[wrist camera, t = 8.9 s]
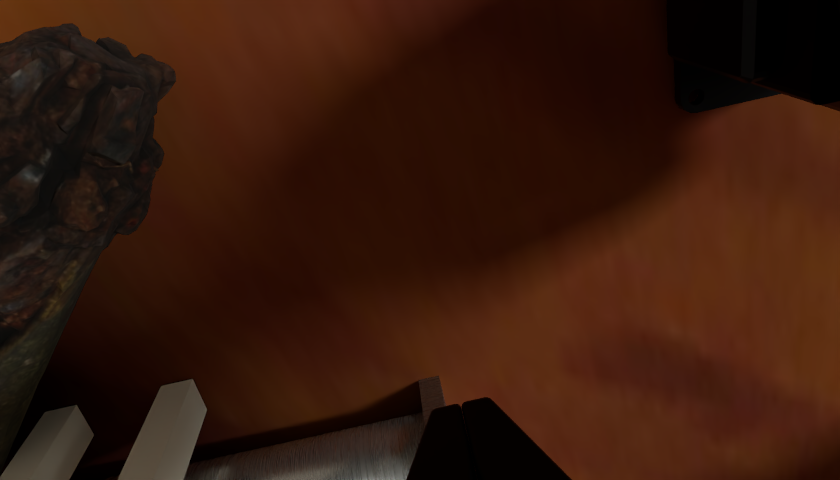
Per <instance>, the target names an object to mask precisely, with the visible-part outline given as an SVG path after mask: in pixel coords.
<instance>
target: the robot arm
mask: <svg viewBox="0 0 840 480" xmlns="http://www.w3.org/2000/svg"><path fill="white" fill-rule="evenodd" d="M667 42H668V54H669V55H670V56H671V57H673V58H674V83H675V101H676V104H677V105H678V107H679V108H681V109H683V110H685V111H687V112H690V113H698V112H702V111H706V110H711V109H715V108H720V107H724V106H729V105H733V104H738V103H742V102H746V101H751V100H755V99H760V98H764V97H769V96H773V95H777V94H785V95H788V96H791V97H794V98H797V99H800V100H804V101H807V102H810V103H813V104H816V105H822V106H825V107H828V108H831V109H834V110H837V111H840V0H667ZM695 89H697V90H698V96H697V98H696V99H695V100H694V101H692V102H689V99H688V98H689V95H690V93H691V92H692V91H693V90H695ZM462 412H463V414H462ZM463 417H464V418H463ZM464 421H465V422H464ZM465 426H466V427H465ZM466 430H467V431H466ZM467 435H468V436H467ZM468 439H469V440H468ZM469 444H470V445H469ZM470 448H471V449H470ZM471 453H472V454H471ZM472 457H473V458H472ZM474 466H475V467H474ZM476 475H477V476H476ZM406 480H571V479H570V478H569V477H568V476H567V475H566V474H565V473H564V471H563V470H562V469H561V468H560V467H559V466H558V465H557V464H556V463H555V462H554V461H553V460H552V459H551V458H550V457H549V456H548V455H547V454H546V453H545V452H544V451H543V450H542V449H541V448H540V447H539V446H538V445H537V444H536V443H535V442H534V441H533V440H532V439H531V438H530V437H529V436H528V435H527V434H526V433H525V432H524V431H523V430H522V429H521V428H520V427H519V426H518V425H517V424H516V423H515V422H514V421H513V420H512V419H511V418H510V417H509V416H508V415H507V414H506V413H505V412H504V411H503V410H502V409H501V408H500V407H499V406H498V405H497V404H496V403H495V402H494V401H493V400H491V399H490V398H488V397H484V398H480V399H475V400H471V401H466V402H464V403H463V404H462V409H461V406H460V405H458V404H453V405H448V406H444V407H439V408H435V409H433V410H432V411H431V413H430V416H429V418H428V421H427V424H426V426H425V429H424V432H423V435H422V437H421V440H420V443H419V446H418V448H417V451H416V454H415V457H414V459H413V462H412V465H411V468H410V470H409V473H408V476H407V479H406Z"/></svg>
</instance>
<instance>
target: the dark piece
mask: <svg viewBox="0 0 840 480" xmlns="http://www.w3.org/2000/svg"><path fill="white" fill-rule="evenodd" d="M175 82H176V76H175V71H174V70H173V69H172V68H171V67H170V66H169V65H167V64H165V63H163V62H159V61H156V60H155V59H154V58H153V57H152V56H148V55H145V54H140V55H139V56H137V57H136V58H134V57H133V56H132V55H131V54H130V52H129V50H128V49H127V47H126V45H124V44H122V43H119V42H117V41H115V40H113V39H111V38H109V37H107V38H102V39H100V38H99V39H98V40H97V42H96V43H95V42H93V41H92V40H89V39H87V38H85V37H82V35H81V33H80V31H79V28H78V27H77V26H75V25H74V24H62V25H61V26H57V27H43V28H39V29H35V30H32V31H28V32H25V33H23V34H22V35H20V36H19V37H17V38H15V39H14V40H12V41H10V42H5V43H1V44H0V474H1V471H2V469H3V467H4V464H5V462H6V459H7V457H8V454H9V452H10V449H11V447H12V444H13V442H14V440H15V438H16V435H17V433H18V431H19V428H20V426H21V423H22V421H23V419H24V416H25V414H26V412H27V409H28V407H29V405H30V402H31V400H32V398H33V395H34V393H35V390H36V388H37V385H38V383H39V381H40V379H41V378H42V376H43V374H44V372H45V370H46V368H47V365H48V363H49V361H50V359H51V356H52V354H53V352H54V350H55V347H56V345H57V343H58V341H59V339H60V336H61V334H62V332H63V330H64V328H65V325H66V323H67V321H68V319H69V317H70V315H71V313H72V311H73V309H74V307H75V304H76V302H77V300H78V298H79V296H80V293H81V291H82V289H83V287H84V285H85V283H86V280H87V278H88V277H89V275H90V273H91V271H92V269H93V267H94V265H95V263H96V261H97V259H98V257H99V255H100V253H101V252H102V250H104V249H105V248H106V247H108V246H109V244H110V242H111V241H112V239H113V237H114V236H115V235H116V234H117V233H119V234H123V235H129V234H131V233H132V232H134V231H136V230H137V229H138V227H139V225H140V224H141V222H142V221H143V219H144V218H145V216H146V215H147V212H148V208H149V204H150V193H151V187H152V180H153V178H154V177H155V172H156V171H158V168H159V167H160V166H161V164H162V160H163V156H164V152H163V150H162V148H161V147H160V145H159V144H158V143H157V142H156V140H155V139H153V131H154V118H153V116H154V115H155V114H156V113H157V102H158V101H160V100H161V99H162V98H163V97H164V96H165V95H166V94H167V93H168V92H169V90H170V89H171V87H172V86H173V84H174V83H175Z"/></svg>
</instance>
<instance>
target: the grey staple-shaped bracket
mask: <svg viewBox="0 0 840 480" xmlns="http://www.w3.org/2000/svg"><path fill="white" fill-rule="evenodd" d="M206 412H207V408H206V406H205V404H204V402H203V400H202V398H201V395H200V393H199V391H198V389H197V387H196V385H195V383H194V380H193V379H190V380H185V381H181V382H176V383H172V384H168V385H163V386H161V387H160V389H159V391H158V394H157V396H156V398H155V400H154V402H153V404H152V407H151V409H150V411H149V413H148V415H147V417H146V419H145V422H144V424H143V426H142V428H141V430H140V432H139V435H138V437H137V439H136V441H135V443H134V445H133V447H132V450H131V452H130V454H129V456H128V458H127V460H126V462H125V465H124V467H123V469H122V471H121V473H120V475H119V478H118V480H184V477H185V474H186V471H187V468H188V465H189V462H190V459H191V456H192V453H193V450H194V447H195V444H196V441H197V438H198V435H199V432H200V429H201V426H202V423H203V421H204V418H205V415H206ZM93 436H94V433H93V432H92V430H91V428H90V427H89V425H88V423H87V422H86V420H85V418H84V416H83V415H82V413H81V411H80V410H79V408H78V406H77V405H74V406H69V407H65V408H60V409H56V410H51V411H47V412H45V413H44V414H43V416H42V417H41V418H40V420H39V421H38V423H37V424H36V426H35V427H34V429H33V430H32V431H31V433H30V434H29V436H28V437H27V439H26V440H25V442H24V443H23V444H22V446H21V447H20V449H19V450H18V452H17V453H16V454H15V456H14V457H13V459H12V460H11V462H10V463H9V465H8V466H7V467H6V469H5V470H4V472H3V473H2V475H1V476H0V480H69V479H70V478H71V476H72V474H73V472H74V470H75V469H76V467H77V465H78V463H79V462H80V460H81V458H82V456H83V454H84V453H85V451H86V449H87V447H88V445H89V444H90V442H91V440H92V438H93Z"/></svg>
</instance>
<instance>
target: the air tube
mask: <svg viewBox="0 0 840 480" xmlns="http://www.w3.org/2000/svg"><path fill="white" fill-rule="evenodd" d="M419 387H420V395H421V402H422V409H423V412H421V413H417V414H412V415H408V416H403V417H399V418H394V419H390V420H385V421H380V422H376V423H371V424H367V425H362V426H358V427H353V428H349V429H344V430H340V431H335V432H331V433H326V434H322V435H317V436H313V437H308V438H304V439H299V440H295V441H290V442H285V443H281V444H276V445H272V446H267V447H263V448H258V449H254V450H249V451H245V452H240V453H236V454H231V455H227V456H222V457H218V458H213V459H209V460H204V461H200V462H195V463H190V464H189V465H188V468H187V471H186V474H185V477H184V480H406V479H407V476H408V473H409V470H410V468H411V465H412V462H413V459H414V457H415V454H416V451H417V448H418V446H419V443H420V440H421V437H422V435H423V432H424V429H425V426H426V424H427V421H428V418H429V416H430V413H431V411H432V410H433V409H435V408H439V407H444V406H446V404H445V400H444V395H443V391H442V387H441V383H440V379H439V376H435V377H431V378H426V379H422V380H419ZM118 478H119V475H117V476H113V477H109V478H107V479H105V480H118Z"/></svg>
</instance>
